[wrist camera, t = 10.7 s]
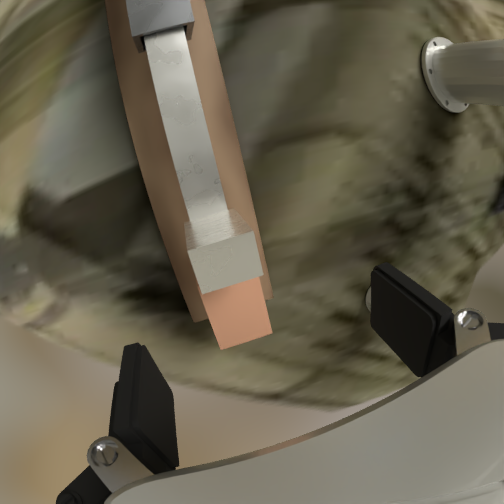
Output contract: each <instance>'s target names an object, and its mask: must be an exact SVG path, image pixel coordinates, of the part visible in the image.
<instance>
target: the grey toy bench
mask: <svg viewBox="0 0 504 504" xmlns="http://www.w3.org/2000/svg"><path fill="white" fill-rule="evenodd" d="M126 6H127V12H128V17H129V23H130V29H131V34H132V38H133V40H134V43H135V45H136V48H137V50H138V53H142V52H146V51H147V50H146V45H145V41H144V35H148V34H151V33H155V32H159V31H163V30H167V29H171V28H175V27H180V26H183V27H184V32H185V36H186V40H187V41H189V40H191V38H192V32H193V27H194V22H195V20H194V16H193V12H192V8H191V3H190V0H126Z"/></svg>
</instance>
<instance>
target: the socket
mask: <svg viewBox="0 0 504 504" xmlns="http://www.w3.org/2000/svg"><path fill="white" fill-rule="evenodd" d="M195 277H196V275H195ZM196 282H197V287H198V290H199V293H200V296H201V298H202V301H203V304H204V307H205V309H206V312H207V315H208V318H209V320H210V323H211V326H212V328H213V331H214V334H215V336H216V339H217V341H218V344H219V346H220V349H221V350H222V349H226V348H229V347H232V346H235V345H238V344H242V343H245V342H248V341H251V340H254V339H257V338H260V337H263V336H266V335H268V334H271V333H272V329H271V325H270V321H269V317H268V312H267V308H266V304H265V300H264V295H263V291H262V287H261V283H260V279H259V277H256V278H253V279H250V280H247V281H244V282H240V283H237V284H234V285H231V286H228V287H225V288H221V289H218V290H215V291H212V292H208V293H205V294H202V293H201V290H200V287H199V284H198V281H197V278H196Z"/></svg>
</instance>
